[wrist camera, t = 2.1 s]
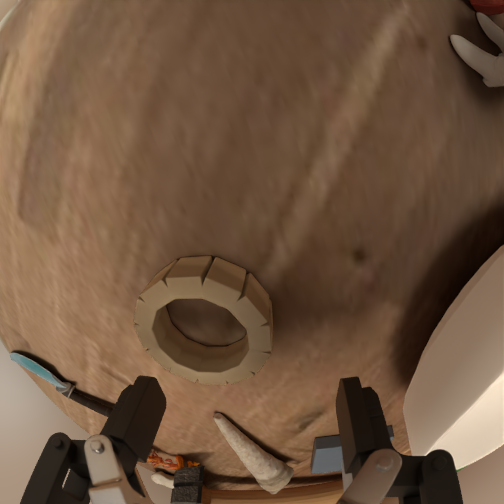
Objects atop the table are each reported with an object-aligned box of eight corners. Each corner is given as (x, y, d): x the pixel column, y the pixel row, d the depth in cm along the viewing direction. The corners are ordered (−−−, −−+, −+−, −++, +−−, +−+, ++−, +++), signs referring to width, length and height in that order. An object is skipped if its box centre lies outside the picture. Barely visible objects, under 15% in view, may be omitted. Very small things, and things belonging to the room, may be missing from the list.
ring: (135, 260, 15) (116, 279, 13) (266, 251, 14) (264, 272, 12) (168, 356, 18) (158, 380, 16) (276, 358, 17) (275, 385, 15)
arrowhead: (150, 480, 27) (215, 495, 28) (153, 468, 29) (216, 482, 30) (149, 484, 30) (206, 497, 31) (152, 473, 32) (207, 486, 33)
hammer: (147, 495, 18) (423, 468, 17) (154, 460, 22) (411, 436, 22) (193, 520, 26) (374, 504, 25) (195, 498, 31) (368, 482, 30)
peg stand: (315, 437, 21) (318, 507, 14) (391, 425, 20) (406, 489, 13) (310, 464, 24) (311, 519, 17) (374, 454, 23) (382, 507, 16)
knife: (-1, 333, 22) (15, 358, 24) (-7, 340, 20) (10, 365, 23) (121, 394, 20) (136, 418, 22) (114, 408, 18) (131, 430, 21)
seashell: (273, 469, 26) (264, 497, 22) (199, 406, 22) (179, 443, 18) (304, 469, 24) (296, 499, 20) (235, 405, 20) (217, 448, 16)
